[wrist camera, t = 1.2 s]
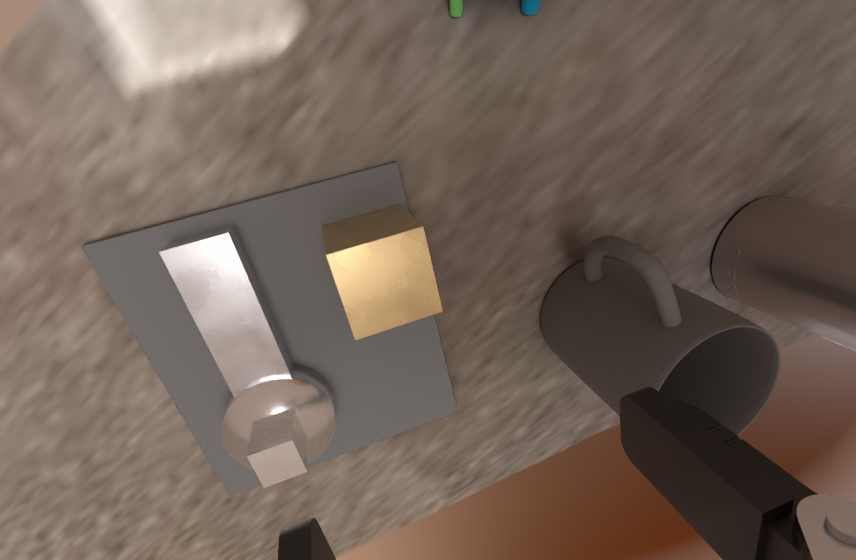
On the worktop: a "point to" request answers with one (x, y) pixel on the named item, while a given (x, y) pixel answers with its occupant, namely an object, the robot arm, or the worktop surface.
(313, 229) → the mat
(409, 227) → the wooden toy cube
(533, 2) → the blue toy piece
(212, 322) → the ratchet
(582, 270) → the mug
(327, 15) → the worktop surface
